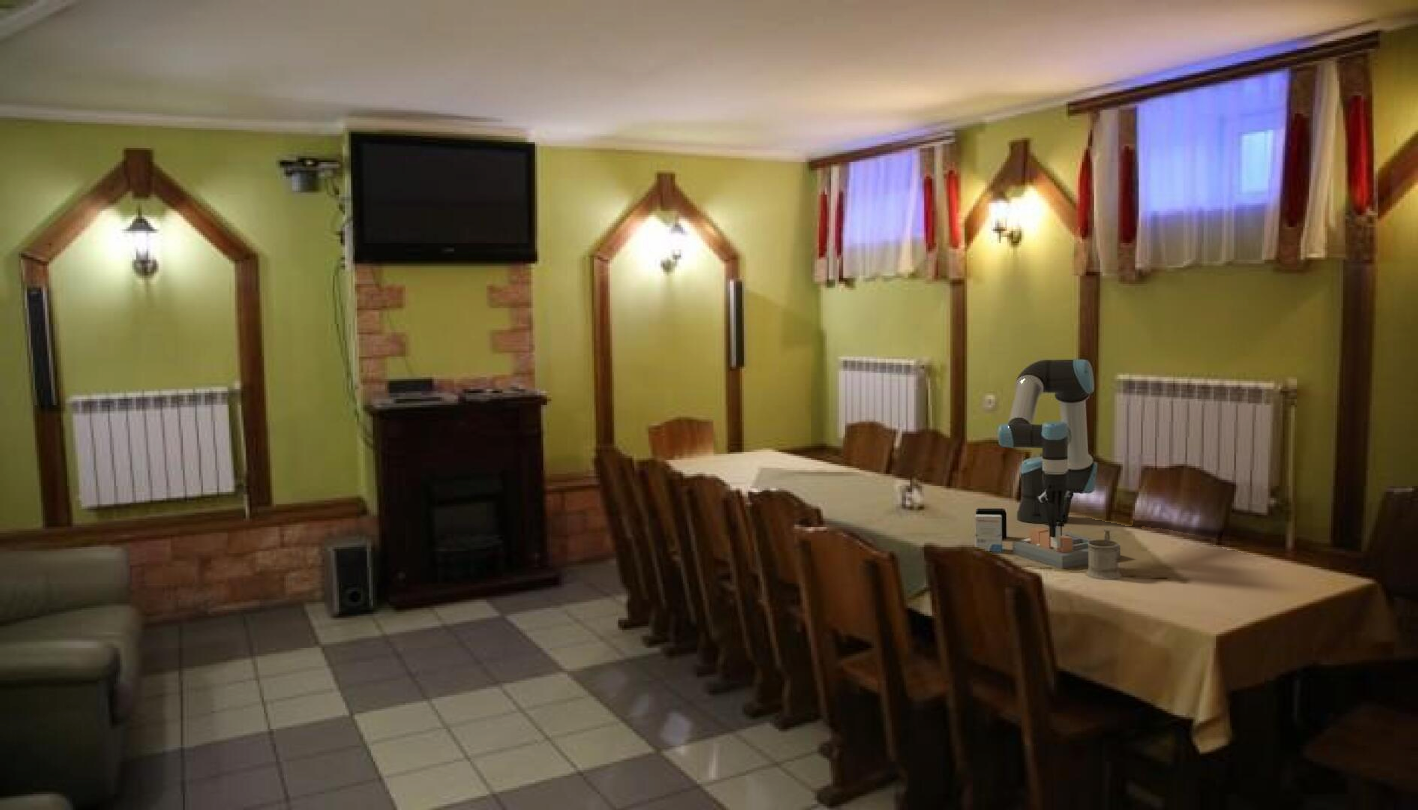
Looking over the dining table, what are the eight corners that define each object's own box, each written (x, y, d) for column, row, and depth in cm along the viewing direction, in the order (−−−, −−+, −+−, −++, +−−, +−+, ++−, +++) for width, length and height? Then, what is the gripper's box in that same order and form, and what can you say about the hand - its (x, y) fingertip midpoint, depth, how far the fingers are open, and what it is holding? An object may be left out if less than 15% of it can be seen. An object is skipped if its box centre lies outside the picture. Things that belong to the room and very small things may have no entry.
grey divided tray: (1068, 543, 333) (1068, 531, 332) (1120, 557, 313) (1120, 544, 312) (1012, 553, 323) (1012, 540, 322) (1062, 568, 303) (1062, 555, 302)
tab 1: (1039, 545, 323) (1039, 527, 323) (1048, 547, 320) (1048, 529, 319) (1030, 547, 322) (1030, 528, 321) (1039, 549, 318) (1039, 531, 318)
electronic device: (1006, 539, 342) (1006, 510, 341) (976, 539, 344) (976, 510, 343) (1005, 536, 347) (1005, 508, 346) (976, 536, 349) (975, 508, 348)
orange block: (1063, 553, 312) (1063, 535, 311) (1073, 556, 308) (1072, 537, 308) (1053, 555, 310) (1053, 536, 310) (1063, 558, 307) (1063, 539, 306)
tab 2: (1049, 549, 317) (1049, 531, 317) (1058, 552, 314) (1058, 533, 313) (1040, 551, 316) (1039, 533, 315) (1049, 554, 312) (1049, 535, 311)
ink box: (1002, 548, 330) (1002, 513, 329) (1001, 552, 325) (1001, 517, 324) (976, 547, 333) (975, 513, 331) (975, 551, 328) (974, 516, 327)
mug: (1117, 581, 288) (1117, 540, 287) (1082, 577, 293) (1082, 537, 292) (1126, 568, 300) (1126, 530, 299) (1092, 565, 305) (1092, 527, 304)
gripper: (1062, 468, 311) (1062, 541, 314) (1030, 472, 306) (1030, 547, 309) (1080, 471, 305) (1080, 546, 307) (1047, 476, 299) (1048, 552, 302)
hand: (1055, 546), depth 308 cm, fingers closed
